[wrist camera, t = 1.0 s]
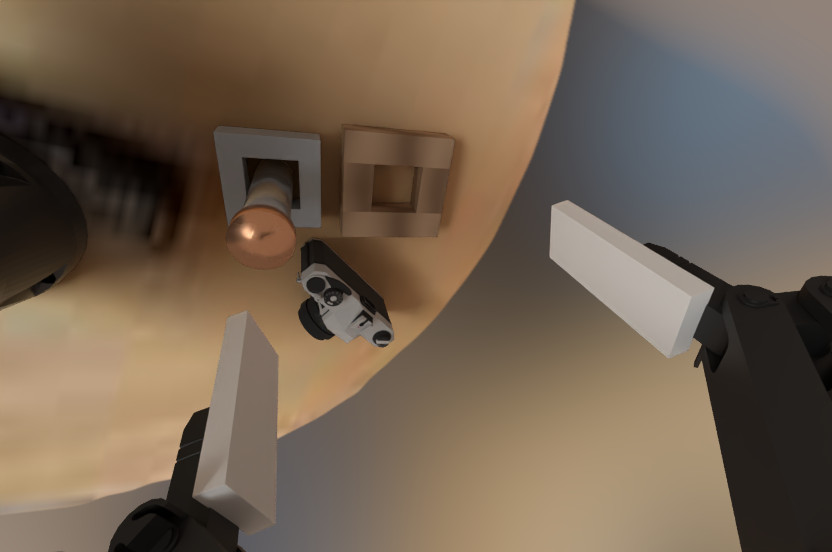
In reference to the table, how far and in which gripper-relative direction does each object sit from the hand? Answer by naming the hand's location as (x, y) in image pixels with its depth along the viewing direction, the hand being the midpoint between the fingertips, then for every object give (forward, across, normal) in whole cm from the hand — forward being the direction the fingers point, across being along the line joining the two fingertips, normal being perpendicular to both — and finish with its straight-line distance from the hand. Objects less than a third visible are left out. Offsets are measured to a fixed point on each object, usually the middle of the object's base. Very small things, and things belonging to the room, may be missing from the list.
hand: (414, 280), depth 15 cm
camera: (+23, -6, -15) cm, 28 cm away
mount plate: (+23, -7, -1) cm, 24 cm away
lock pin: (+23, -7, -1) cm, 24 cm away
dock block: (+22, +3, -5) cm, 23 cm away
